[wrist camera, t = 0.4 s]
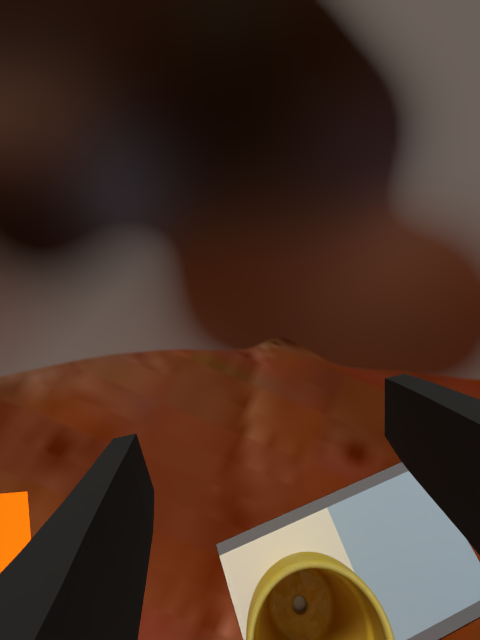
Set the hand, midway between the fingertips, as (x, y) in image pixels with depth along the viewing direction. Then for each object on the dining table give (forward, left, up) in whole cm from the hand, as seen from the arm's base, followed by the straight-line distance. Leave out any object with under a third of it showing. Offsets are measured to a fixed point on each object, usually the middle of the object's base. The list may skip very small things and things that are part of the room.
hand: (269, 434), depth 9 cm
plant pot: (-13, 0, -30) cm, 33 cm away
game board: (-13, -6, -30) cm, 33 cm away
